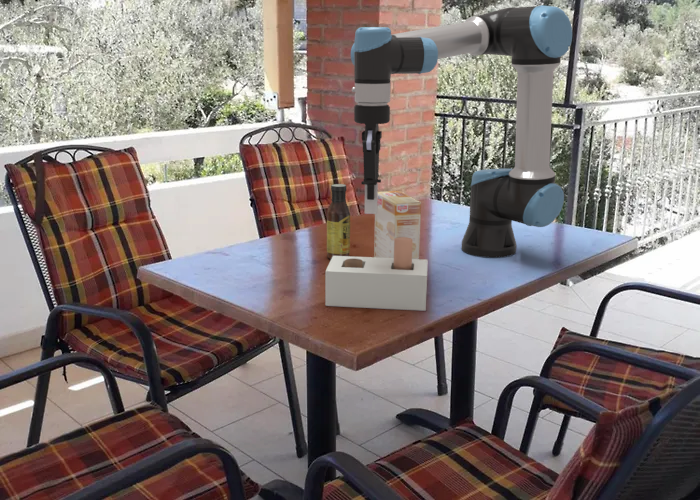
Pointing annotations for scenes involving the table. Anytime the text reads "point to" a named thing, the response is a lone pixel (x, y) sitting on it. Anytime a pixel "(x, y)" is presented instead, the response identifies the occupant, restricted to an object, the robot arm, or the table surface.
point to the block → (376, 284)
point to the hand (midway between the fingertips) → (371, 212)
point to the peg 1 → (354, 263)
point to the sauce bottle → (338, 223)
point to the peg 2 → (403, 253)
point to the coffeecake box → (396, 223)
